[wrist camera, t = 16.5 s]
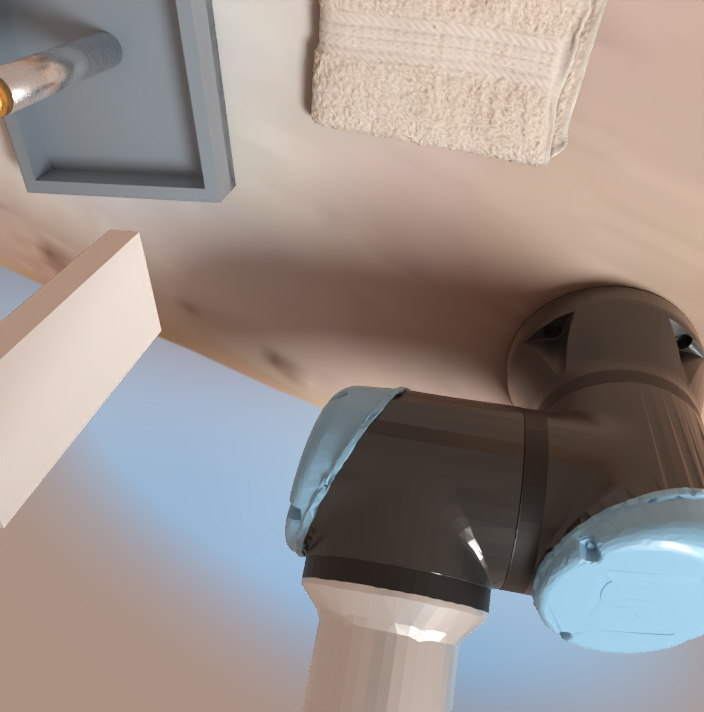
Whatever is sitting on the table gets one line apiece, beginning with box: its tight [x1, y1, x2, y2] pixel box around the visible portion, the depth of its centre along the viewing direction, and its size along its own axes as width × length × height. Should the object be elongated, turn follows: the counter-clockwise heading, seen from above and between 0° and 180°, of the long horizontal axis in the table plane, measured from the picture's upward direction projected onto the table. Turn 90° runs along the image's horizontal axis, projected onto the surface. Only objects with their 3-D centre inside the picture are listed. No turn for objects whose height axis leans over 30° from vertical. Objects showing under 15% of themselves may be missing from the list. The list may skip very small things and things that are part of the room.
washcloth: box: [311, 0, 608, 166], centre depth 43 cm, size 12×18×3 cm, turn 85°
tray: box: [0, 0, 236, 203], centre depth 47 cm, size 20×16×4 cm
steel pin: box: [0, 31, 122, 118], centre depth 42 cm, size 2×2×14 cm
